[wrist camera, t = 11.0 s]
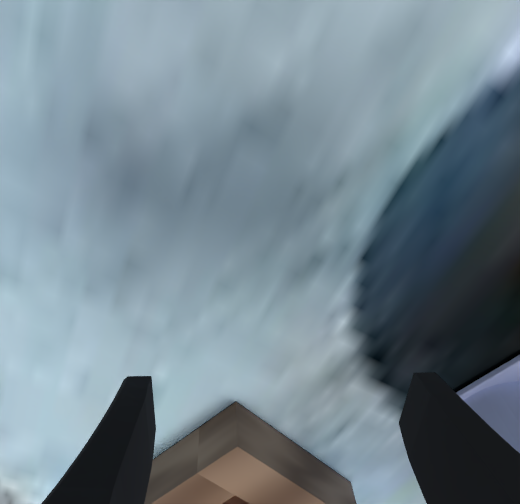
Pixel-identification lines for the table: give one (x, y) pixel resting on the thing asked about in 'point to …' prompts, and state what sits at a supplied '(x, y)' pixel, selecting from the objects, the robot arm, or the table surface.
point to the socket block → (242, 467)
